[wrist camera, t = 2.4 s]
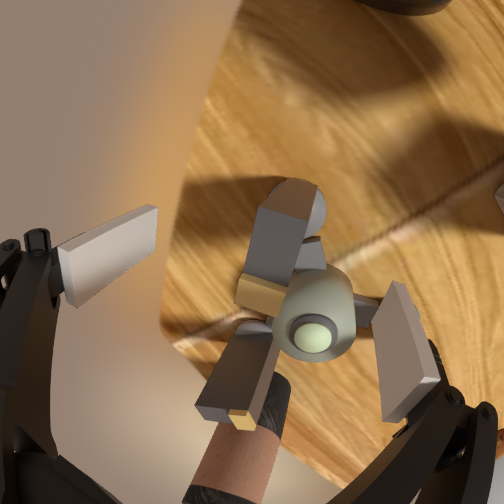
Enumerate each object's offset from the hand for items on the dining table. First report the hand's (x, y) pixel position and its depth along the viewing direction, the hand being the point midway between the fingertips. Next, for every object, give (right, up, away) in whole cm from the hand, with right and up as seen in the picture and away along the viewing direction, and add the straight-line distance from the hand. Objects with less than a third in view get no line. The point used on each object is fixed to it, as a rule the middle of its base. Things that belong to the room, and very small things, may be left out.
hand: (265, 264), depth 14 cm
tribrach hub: (+6, -4, +13) cm, 14 cm away
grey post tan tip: (0, -9, +16) cm, 19 cm away
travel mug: (+1, -17, +20) cm, 27 cm away
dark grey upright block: (+3, +4, +10) cm, 11 cm away
